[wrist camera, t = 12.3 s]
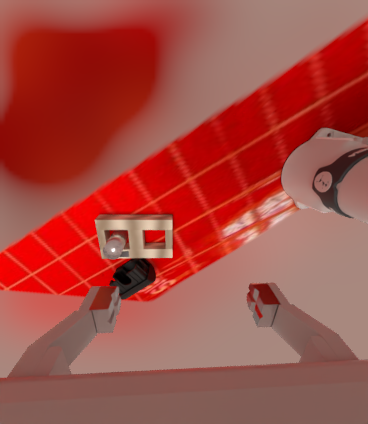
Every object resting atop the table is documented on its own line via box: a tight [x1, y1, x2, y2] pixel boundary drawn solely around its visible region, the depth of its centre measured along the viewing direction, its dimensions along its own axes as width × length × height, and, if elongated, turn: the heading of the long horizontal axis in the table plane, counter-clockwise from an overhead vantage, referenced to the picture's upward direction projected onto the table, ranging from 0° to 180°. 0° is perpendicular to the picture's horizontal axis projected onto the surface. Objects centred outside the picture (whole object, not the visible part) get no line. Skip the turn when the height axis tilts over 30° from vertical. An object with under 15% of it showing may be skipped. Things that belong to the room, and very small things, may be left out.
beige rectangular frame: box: [95, 215, 172, 259], centre depth 45 cm, size 18×11×3 cm, turn 88°
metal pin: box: [103, 230, 129, 259], centre depth 43 cm, size 4×4×8 cm
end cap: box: [109, 258, 156, 299], centre depth 48 cm, size 10×7×7 cm
